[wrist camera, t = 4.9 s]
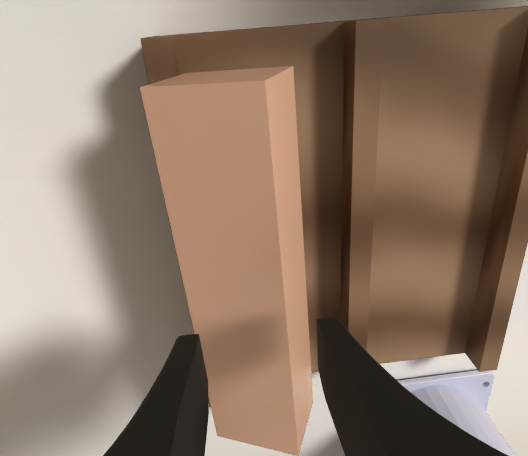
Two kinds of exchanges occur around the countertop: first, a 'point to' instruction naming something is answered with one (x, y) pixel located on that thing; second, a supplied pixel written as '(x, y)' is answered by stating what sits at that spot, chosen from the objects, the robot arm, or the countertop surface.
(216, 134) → the clay strip
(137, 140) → the countertop surface
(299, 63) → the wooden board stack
